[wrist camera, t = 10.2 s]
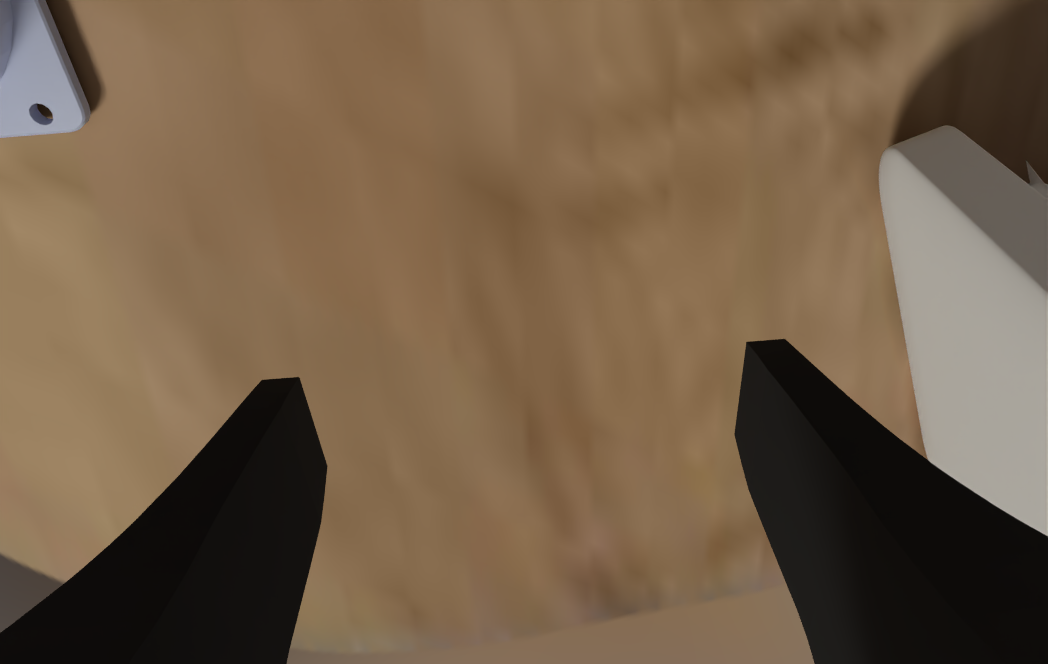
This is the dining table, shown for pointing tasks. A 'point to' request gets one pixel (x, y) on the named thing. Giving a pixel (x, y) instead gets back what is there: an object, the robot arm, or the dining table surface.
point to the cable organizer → (974, 313)
